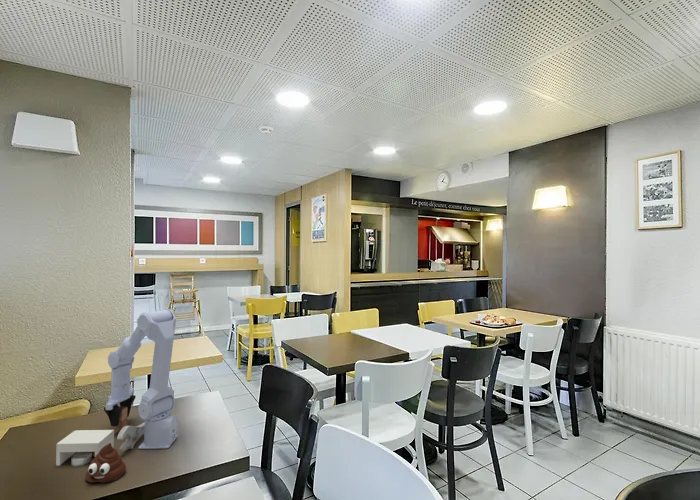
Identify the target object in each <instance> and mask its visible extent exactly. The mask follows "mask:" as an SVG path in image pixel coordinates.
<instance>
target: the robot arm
mask: <svg viewBox="0 0 700 500" xmlns="http://www.w3.org/2000/svg"><path fill="white" fill-rule="evenodd" d="M176 322H177V317H176V315H175V314H174V312H173V311H172V310H171V309H170V308H166V309H163V310H155V311H149V312H142V313H141V314H140V315H139V316H138V318H137V321H136V323H137V325H136V328H135V329H134V331H133V333H132V335H131V336H130V335H129V336H126V337H125V338H124V339H123V342H122V343H121V344H120V345H119V346H118V348H117V349H116V350H114V351H110V352H109V354H108V356H107V363H108V366H109V367H110V369H111V373H110V374H111V383H110V385H111V386H110V389H111V391H110V393H111V394H110V395H108V396H107V399H108V401H107V403H105V406H104V408H103V411H104V412H105V413H106V415H107V418H108V420H109V423H110V426H111V427H113V426H118V425H119V420H120V414H121V411H122V408H123V407H127V418H129V415H130V413H131V409H132V406H133V403H134V401H135V400H136V395H135V394H134V393H135V388H134V387H132V388H131V370H132V369H133V363H134V362H135V355H136V353H137V352H138V351H139V349H141V347H142V341H143V339H144V338H145V337H146V338H147V339H148V340H151V341H153V342H154V347H153V355H152V365H151V372H150V373H151V374H150V380H149V381H150V382H149V388H148V389H147V390H145V392H144V393H143V394H142V396H141V399H140V400H141V401H140V403H138V407H137V409H138V411H137V412H138V415H139V417H140V418H141V419H142V420H143V421H144V422H145V425H144V433H143V434H144V436H143V438H144V439H143V442H142V443H140V445H139V446H138V449H139V450H142V449H143V450H146V449H147V450H149V449H152V450H155V449H156V450H157V449H169V448H170V447H171V446H172V444H173V443H174V442H175V440H176V439H177V438H178V436H179V435H178V416H177V415H176V414H175V415H174V414H172V410H173V409H174V407H175V405H176V399H175V390H174V389H173V388H172V387H170V386H168V385H169V379H170V370H171V365H172V356H173V355H172V354H173V347H174V340H175V339H174V337H175V336H174V335H175V330H176V324H177V323H176ZM118 404H119V405H118Z"/></svg>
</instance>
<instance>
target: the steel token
mask: <svg viewBox="0 0 700 500" xmlns="http://www.w3.org/2000/svg"><path fill="white" fill-rule="evenodd" d="M70 459H71V460H70V462H71V463H70V464H71V466H72V467H81V466H85V465H87V464H88V463H91V461H92V460H93V456H92V452H79V453H78V452H76V453H74V454H73V455H72V456H71V457H70Z"/></svg>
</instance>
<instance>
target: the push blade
mask: <svg viewBox="0 0 700 500" xmlns="http://www.w3.org/2000/svg"><path fill="white" fill-rule="evenodd" d="M124 426H128V417H127V407H123V408H122V411H121V414H120V420H119V425H118V426H112V429H111V430H114V435H115V434H117V433H119V432H120V431H121V429H122V428H123V427H124ZM77 453H79V452H77ZM92 457H95V452H92Z"/></svg>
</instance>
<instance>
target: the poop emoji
mask: <svg viewBox="0 0 700 500" xmlns="http://www.w3.org/2000/svg"><path fill="white" fill-rule="evenodd" d="M89 463H90V464H89V467H88V469H87V470H86V472H85V480H86V482H88V483H98V482H99V483H111V482H114V481H116V480H118V479H120V478H121V477H122V476H123V475H124V474H125V473H126V469H127V466H126V463H125V462H124V461H123V459H122V456H121V455H119V453H118V450H117V449H115V448H114V449H113V447H112V446H111V443H109V444H107V445H105V446H104V447H103V448H102V449H101V450H100V451H99V453H98V454H97V455H96V456H94V458H92V460H91V461H90V462H89Z"/></svg>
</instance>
